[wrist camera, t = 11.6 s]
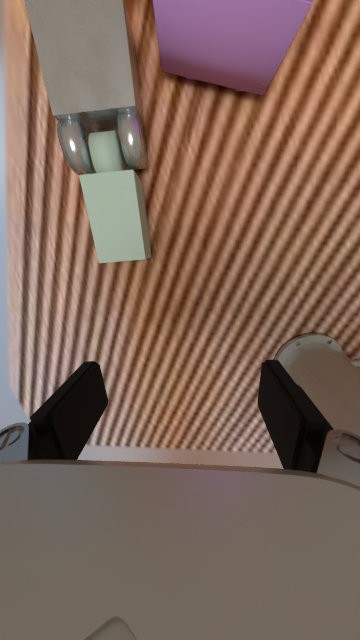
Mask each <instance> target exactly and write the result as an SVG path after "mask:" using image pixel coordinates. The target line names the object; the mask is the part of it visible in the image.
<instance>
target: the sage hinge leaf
mask: <svg viewBox="0 0 360 640" xmlns="http://www.w3.org/2000/svg"><path fill="white" fill-rule="evenodd" d="M88 140H89V150H90V155H91V159H92V162H93V165H94V168H95V171H96V173H94V174H85V175H79V177H80V182H81V186H82V190H83V195H84V199H85V203H86V208H87V212H88V216H89V221H90V225H91V230H92V234H93V238H94V243H95V247H96V251H97V256H98V260H99V263H106V262H118V261H131V260H144V259H148V258H150V257H152V256H151V248H150V240H149V233H148V225H147V217H146V209H145V201H144V193H143V185H142V181H141V180H140V179H139V177H138V176H137V174H136V173H135V171H134V170H127V165H126V161H125V158H124V155H123V151H122V147H121V142H120V138H119V136H118V134H117V132H116V131H115V130H113V131H104V132H95V133H90V134H89V139H88Z"/></svg>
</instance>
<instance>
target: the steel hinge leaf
mask: <svg viewBox="0 0 360 640" xmlns="http://www.w3.org/2000/svg"><path fill="white" fill-rule="evenodd" d="M24 1H25V5H26V9H27V13H28V17H29V21H30V25H31V29H32V33H33V37H34V41H35V45H36V49H37V53H38V57H39V61H40V65H41V69H42V73H43V77H44V81H45V85H46V89H47V93H48V97H49V101H50V105H51V109H52V114H53V116H54V117H55V118H56V119H57V120H58V121H59V122H58V124H57V132H58V138H59V142H60V145H61V148H62V151H63V153H64V156H65V158H66V160H67V162H68V164H69V165H70V167H71V168H72V170H73V171H74V172H75V173H76V174H77V175H85V174H94V173H96V171H95V168H94V165H93V162H92V159H91V155H90V150H89V140H88V139H89V134H90V133H95V132H104V131H113V130H115V131H116V132H117V134H118V135H119V137H120V142H121V147H122V151H123V155H124V158H125V161H126V164H127V166H128V168H129V170H136V169H146V168H148V156H147V147H146V140H145V134H144V132H145V129H144V120H143V111H142V102H141V93H140V84H139V75H138V67H137V58H136V49H135V40H134V36H133V32H132V28H131V24H130V20H129V16H128V12H127V8H126V4H125V0H24Z"/></svg>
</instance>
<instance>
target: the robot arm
mask: <svg viewBox="0 0 360 640" xmlns="http://www.w3.org/2000/svg"><path fill="white" fill-rule="evenodd" d="M358 367H360V359H353V360H351V359H350V358H348V357H347V356H346V355H344V354H343V350H342V347H341V346H340V344H339V343H338V342H337V341H335V340H334V339H332V338H331V337H329V336H327V335H324V334H318V333H311V334H305V335H301V336H298V337H296V338H294V339H292V340H290V341H289V342H287V343H286V344H285V345H284V346H283V347H282V348H281V349H280V350H279V351H278V353H277V354H276V357H275V359H274V360H266V361H265V362H264V363H262V368H261V377H260V385H259V394H258V407H259V410H260V412H261V414H262V417H263V419H264V422H265V424H266V427H267V429H268V432H269V434H270V436H271V439H272V441H273V444H274V446H275V449H276V451H277V453H278V456H279V458H280V461H281V463H282V466H283V468H284V469H277V468H260V467H244V466H243V467H242V466H220V465H198V464H174V463H148V462H120V461H88V460H77V459H78V456H79V455H80V453H81V451H82V450H83V448H84V446H85V444H86V443H87V441H88V439H89V437H90V435H91V434H92V432H93V430H94V428H95V426H96V425H97V423H98V421H99V419H100V417H101V416H102V414H103V412H104V410H105V409H106V407H107V404H108V398H107V394H106V390H105V385H104V381H103V377H102V373H101V369H100V365H99V364H97V363H96V362H95V361H90V362H84V363H83V364H82V365H81V366H80V367H79V368H78V369H77V370H76V371H75V372H74V373H73V374H72V375H71V376H70V377H69V378H68V379H67V380H66V381H65V382H64V383H63V384H62V385H61V386H60V387H59V388H58V389H57V391H56V392H55V393H54V394H53V395H52V396H51V397H50V398H49V399H48V400H47V401H46V402H45V403H44V404H43V405H42V406H41V407H40V408H39V409H38V410H37V411H36V412H35V413H34V414H33V415H32V416H31V417H30V419H31V422H30V423H29V424H26V423H16V424H13V425H10V426H8V427H6V428H4V429H2V430H0V640H360V369H359V368H358Z"/></svg>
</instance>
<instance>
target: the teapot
mask: <svg viewBox="0 0 360 640" xmlns="http://www.w3.org/2000/svg"><path fill="white" fill-rule="evenodd" d="M312 3H313V0H153V6H154V14H155V21H156V29H157V37H158V44H159V52H160V60H161V67H162V72H166V73H170V74H174V75H178V76H182V77H184V78H185V79H187V80H192V79H195V80H199V81H203V82H207V83H211V84H215V85H220V86H224V87H228V88H232V89H234V90H235V91H237V92H242V91H245V92H249V93H253V94H257V95H262V96H263V95H264V94H265V92H266V90H267V88H268V86H269V84H270V82H271V80H272V79H273V77H274V75H275V73H276V71H277V69H278V67H279V65H280V63H281V62H282V60H283V58H284V56H285V54H286V52H287V50H288V48H289V47H290V45H291V43H292V41H293V39H294V37H295V35H296V33H297V32H298V30H299V28H300V26H301V24H302V22H303V20H304V18H305V16H306V15H307V13H308V11H309V9H310V7H311V5H312Z"/></svg>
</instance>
